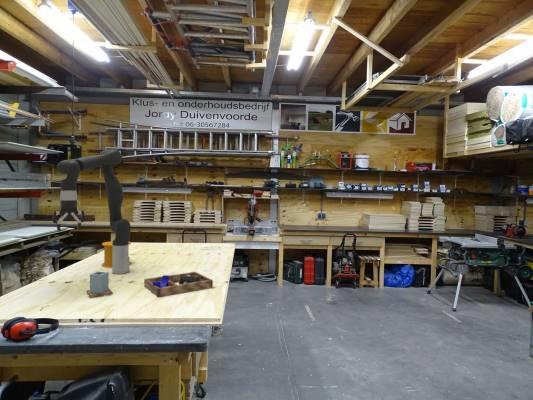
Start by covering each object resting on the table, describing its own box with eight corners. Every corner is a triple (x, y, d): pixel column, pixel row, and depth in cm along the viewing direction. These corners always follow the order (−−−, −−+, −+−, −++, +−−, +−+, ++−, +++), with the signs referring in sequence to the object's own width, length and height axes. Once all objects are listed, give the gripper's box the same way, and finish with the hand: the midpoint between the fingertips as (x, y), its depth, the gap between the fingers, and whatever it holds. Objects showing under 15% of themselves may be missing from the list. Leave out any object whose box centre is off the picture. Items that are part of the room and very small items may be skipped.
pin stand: (108, 289, 177) (108, 273, 177) (112, 294, 169) (112, 278, 169) (86, 292, 171) (86, 276, 171) (90, 298, 163) (90, 281, 163)
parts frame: (195, 278, 201) (195, 271, 201) (212, 287, 184) (212, 280, 184) (144, 286, 184) (144, 278, 184) (157, 297, 166) (157, 288, 166)
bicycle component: (187, 276, 197) (174, 284, 183) (191, 265, 196) (179, 273, 181) (205, 286, 195) (193, 295, 180) (209, 275, 194) (198, 283, 179)
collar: (97, 289, 173) (97, 271, 173) (108, 289, 172) (108, 272, 172) (89, 292, 167) (89, 274, 167) (101, 293, 166) (101, 275, 166)
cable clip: (161, 286, 184) (161, 275, 184) (169, 286, 184) (168, 275, 183) (150, 293, 172) (149, 282, 172) (158, 294, 172) (158, 282, 171)
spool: (133, 265, 230) (133, 243, 229) (104, 269, 219) (104, 245, 219) (127, 260, 244) (127, 239, 244) (99, 263, 234) (99, 241, 234)
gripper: (83, 199, 183) (83, 229, 184) (51, 199, 175) (52, 230, 175) (85, 199, 177) (85, 230, 178) (53, 199, 169) (53, 232, 169)
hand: (69, 230), depth 177 cm, fingers open, 8 cm apart
